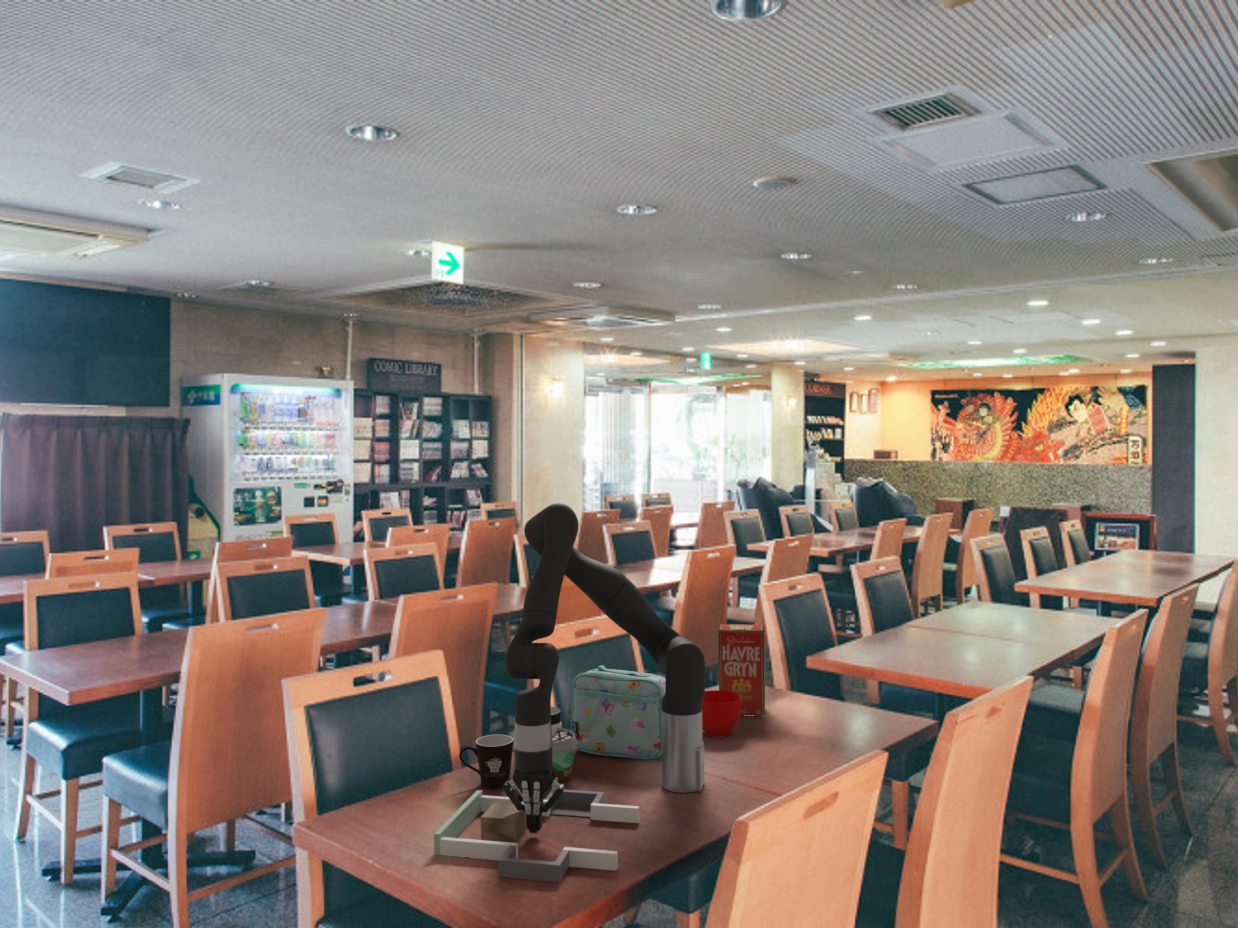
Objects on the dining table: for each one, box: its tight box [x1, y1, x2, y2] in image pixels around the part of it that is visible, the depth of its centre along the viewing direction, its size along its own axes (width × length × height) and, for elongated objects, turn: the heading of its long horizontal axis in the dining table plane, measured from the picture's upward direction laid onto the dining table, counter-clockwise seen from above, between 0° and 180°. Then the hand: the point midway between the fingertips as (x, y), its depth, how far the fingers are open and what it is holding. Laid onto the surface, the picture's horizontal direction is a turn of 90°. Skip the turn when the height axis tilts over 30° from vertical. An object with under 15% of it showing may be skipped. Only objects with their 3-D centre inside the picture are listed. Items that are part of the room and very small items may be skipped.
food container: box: [552, 727, 576, 784], centre depth 208 cm, size 12×6×10 cm, turn 168°
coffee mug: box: [458, 734, 514, 790], centre depth 205 cm, size 12×9×10 cm
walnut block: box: [480, 803, 527, 843], centre depth 177 cm, size 7×7×5 cm
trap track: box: [433, 789, 640, 883], centre depth 175 cm, size 35×35×4 cm
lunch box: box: [567, 664, 666, 760], centre depth 225 cm, size 27×10×21 cm, turn 68°
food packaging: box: [717, 623, 766, 717], centre depth 260 cm, size 13×9×25 cm
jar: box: [551, 706, 563, 736], centre depth 221 cm, size 9×8×12 cm
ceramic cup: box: [702, 689, 741, 738], centre depth 241 cm, size 13×17×10 cm
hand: (534, 831), depth 176 cm, fingers closed
